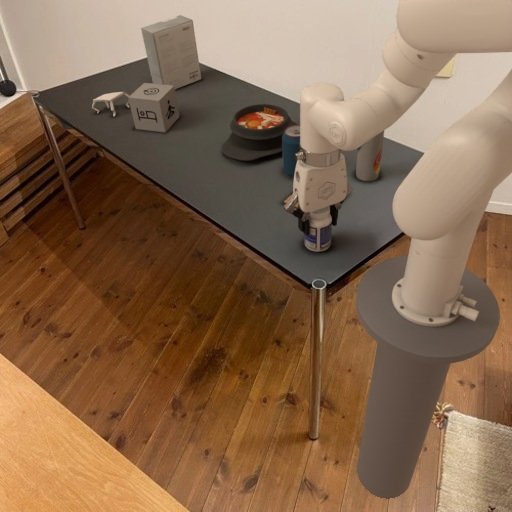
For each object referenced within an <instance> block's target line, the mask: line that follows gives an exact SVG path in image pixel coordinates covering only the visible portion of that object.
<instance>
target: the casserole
mask: <svg viewBox="0 0 512 512" xmlns="http://www.w3.org/2000/svg"><path fill="white" fill-rule="evenodd" d="M291 125H299V124H298V123H297V122H295V121H293V120H292V118H291V117H290V116H289V113H288V111H287V110H286V109H284V108H283V107H280V106H278V105H275V104H267V103H261V104H252V105H248V106H245V107H243V108H240V109H238V110H237V111H235V113H234V115H233V116H232V119H231V121H230V123H229V127H230V128H229V129H230V131H231V133H230V135H229V136H228V138H227V139H226V140H225V141H224V142H223V143H222V145H221V146H220V150H221V152H222V153H223V154H224V155H226V156H228V157H229V158H231V159H234V160H238V161H247V162H249V161H254V160H257V159H260V158H263V157H266V156H270V155H276V154H278V153H282V136H283V134H284V130H285V129H286V128H287V127H288V126H291Z"/></svg>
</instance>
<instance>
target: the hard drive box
mask: <svg viewBox="0 0 512 512" xmlns="http://www.w3.org/2000/svg"><path fill="white" fill-rule="evenodd" d="M140 30H141V35H142V41H143V45H144V49H145V53H146V54H145V55H146V58H147V63H148V66H149V72H150V75H151V81H152V84H162V85H172V86H174V87H175V90H178V89H180V88H182V87H184V86H187V85H190V84H193V83H196V82H197V81H201V80H202V75H201V68H200V67H201V66H200V61H199V54H198V47H197V39H196V34H195V27H194V21H193V19H191V18H189V17H187V16H183V15H181V14H179V15H176V16H173V17H169V18H167V19H164V20H161V21H158V22H155V23H152V24H149V25H146V26H143V27H141V28H140Z"/></svg>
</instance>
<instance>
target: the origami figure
mask: <svg viewBox="0 0 512 512" xmlns="http://www.w3.org/2000/svg"><path fill="white" fill-rule="evenodd" d="M122 96H126V97H127V98H128V97H129V96H130V95H129V94H128V93H126V91H116V92H110V93H103V94H101V95H99V96H98V97H96V98H94V99H92V105H91V109H93V110H95V111H97V113H96V114H99V113H100V109H97V108H95V106H96V103H97V102H99V103H100V102H105V104H106V107H107V109H108V110H109V109H110V111H111V112H112V113H113V115H112V116H113V117H115V116H116V110H115V106H114V102H113V101H115V100H117V99H118V98H120V97H122ZM109 104H110V105H109ZM125 106H126V107H127V108H128V109H129V108H130V104H129V100H128V101H127V102H126V103H125Z"/></svg>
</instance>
